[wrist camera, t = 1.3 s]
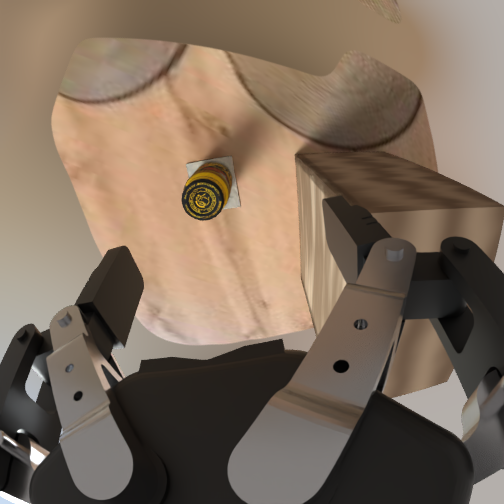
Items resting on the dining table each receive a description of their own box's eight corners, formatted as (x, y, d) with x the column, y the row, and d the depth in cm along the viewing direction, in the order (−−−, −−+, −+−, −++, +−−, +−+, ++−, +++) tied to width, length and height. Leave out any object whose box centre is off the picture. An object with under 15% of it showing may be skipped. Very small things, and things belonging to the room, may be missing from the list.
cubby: (384, 151, 43) (505, 206, 18) (377, 270, 53) (447, 381, 28) (294, 154, 44) (355, 214, 18) (301, 278, 54) (333, 410, 28)
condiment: (231, 155, 44) (225, 169, 33) (240, 206, 48) (237, 236, 37) (186, 163, 44) (165, 180, 34) (196, 213, 48) (181, 244, 37)
